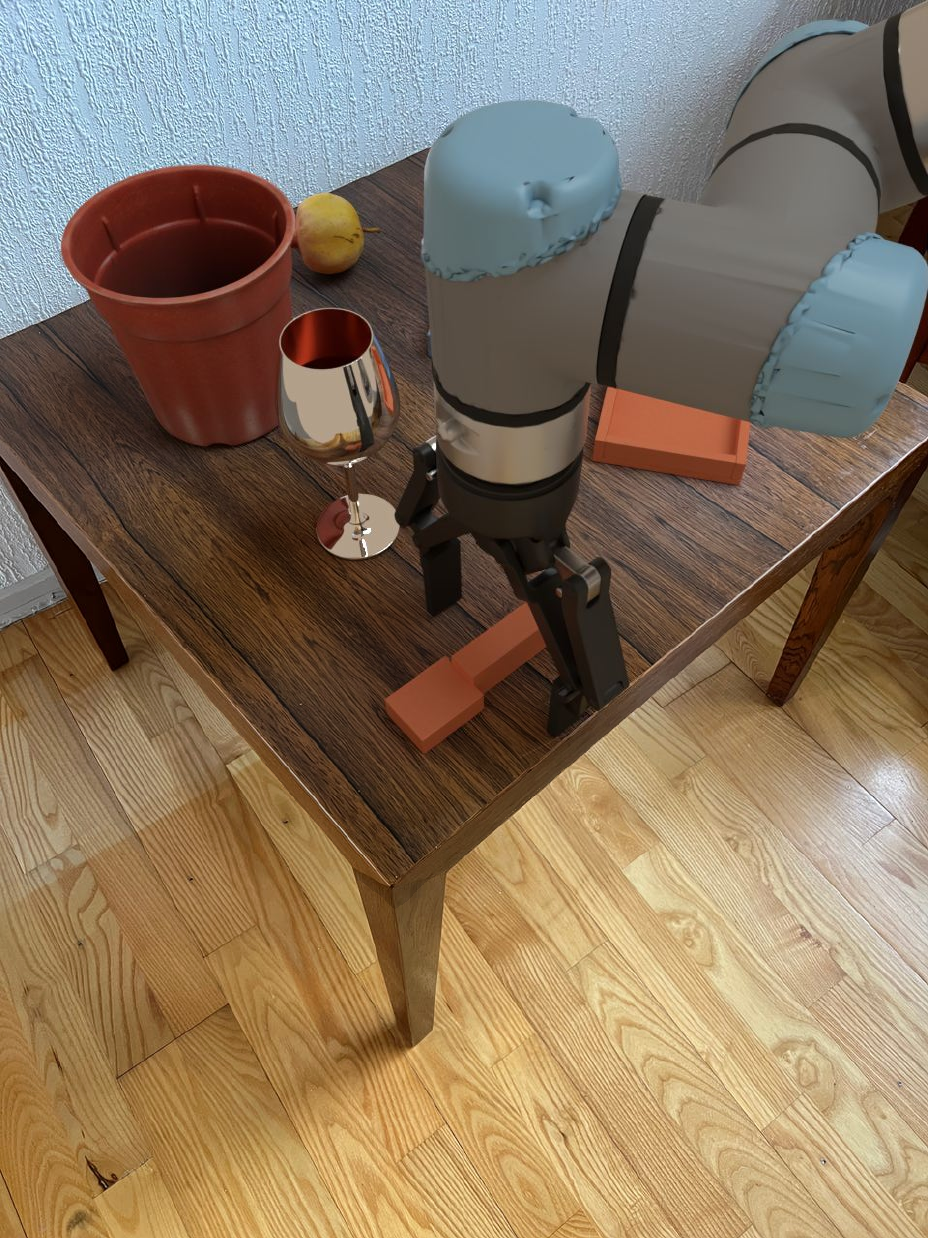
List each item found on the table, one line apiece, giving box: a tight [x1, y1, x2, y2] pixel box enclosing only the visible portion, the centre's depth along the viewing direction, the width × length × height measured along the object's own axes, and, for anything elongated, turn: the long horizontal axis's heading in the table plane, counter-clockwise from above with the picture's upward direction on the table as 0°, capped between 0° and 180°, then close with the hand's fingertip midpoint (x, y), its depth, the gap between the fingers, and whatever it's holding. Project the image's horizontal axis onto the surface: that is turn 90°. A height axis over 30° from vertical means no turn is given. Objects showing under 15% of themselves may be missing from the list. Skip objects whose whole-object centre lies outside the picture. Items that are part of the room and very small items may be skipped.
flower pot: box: [60, 163, 296, 447], centre depth 75 cm, size 16×16×16 cm
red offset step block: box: [384, 602, 547, 755], centre depth 64 cm, size 12×4×3 cm, turn 130°
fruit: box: [290, 192, 381, 275], centre depth 88 cm, size 7×7×10 cm
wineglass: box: [274, 307, 401, 561], centre depth 66 cm, size 8×8×18 cm
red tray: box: [592, 386, 752, 486], centre depth 79 cm, size 12×17×2 cm
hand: (502, 661), depth 66 cm, fingers open, 12 cm apart
